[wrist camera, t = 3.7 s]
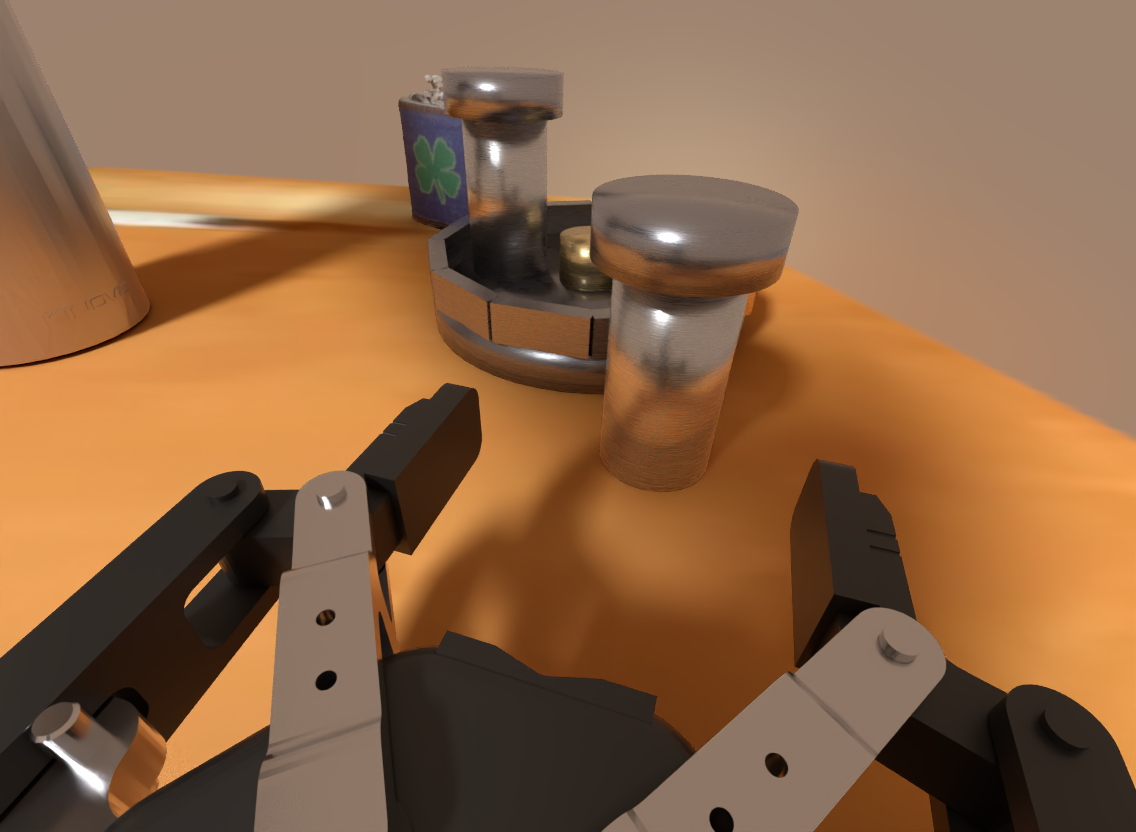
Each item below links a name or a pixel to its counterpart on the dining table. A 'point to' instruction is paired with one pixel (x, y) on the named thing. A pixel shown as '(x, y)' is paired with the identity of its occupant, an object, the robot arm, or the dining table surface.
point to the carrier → (519, 243)
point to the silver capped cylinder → (677, 312)
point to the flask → (434, 157)
